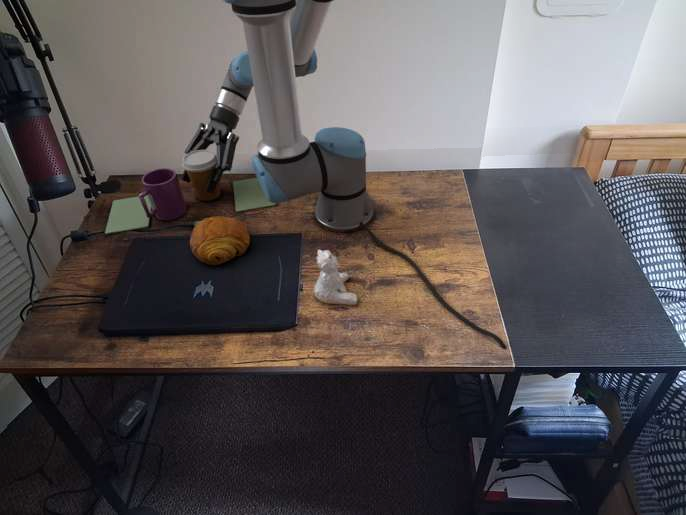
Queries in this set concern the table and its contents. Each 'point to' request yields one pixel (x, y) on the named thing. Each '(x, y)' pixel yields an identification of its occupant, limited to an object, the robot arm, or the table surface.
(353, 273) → the table surface
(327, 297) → the white creature statuette
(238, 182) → the cup mat
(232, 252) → the croissant
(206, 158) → the disposable coffee cup
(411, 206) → the table surface
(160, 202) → the plum mug
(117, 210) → the mug mat
